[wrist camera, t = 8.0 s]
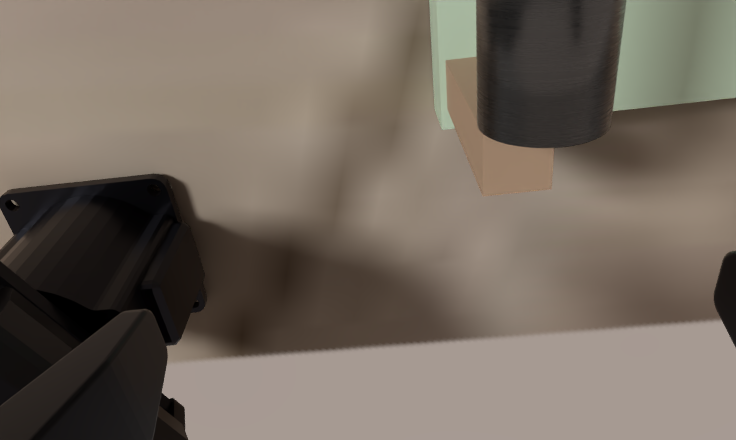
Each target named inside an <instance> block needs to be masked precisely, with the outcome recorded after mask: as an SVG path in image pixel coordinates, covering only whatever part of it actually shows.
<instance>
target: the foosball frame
mask: <svg viewBox="0 0 736 440" xmlns="http://www.w3.org/2000/svg"><path fill="white" fill-rule="evenodd" d="M429 6H430V26H431V47H432V67H433V87H434V108H435V112H436V114H437V117H438V120H439V123H440V126H441V129H442V130H446V129H456V132H457V134H458V137H459V139H460V142H461V144H462V146H463V149H464V151H465V154H466V156H467V159H468V161H469V164H470V166H471V168H472V171H473V173H474V176H475V178H476V181H477V183H478V186H479V188H480V191H481V193H482V195H483V196H491V195H501V194H510V193H520V192H530V191H539V190H549V189H551V188H552V173H553V159H554V148H528V147H519V146H513V145H508V144H504V143H501V142H498V141H495V140H493V139H490V138H488V137H487V136H485V135H484V134H482V133H481V132H480V130H479V129H478V127H477V59H476V0H429ZM729 98H736V0H626V9H625V17H624V25H623V33H622V41H621V49H620V57H619V65H618V73H617V81H616V89H615V97H614V106H613V111H619V110H628V109H638V108H647V107H656V106H665V105H674V104H683V103H692V102H701V101H710V100H720V99H729Z"/></svg>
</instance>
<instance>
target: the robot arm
mask: <svg viewBox="0 0 736 440" xmlns="http://www.w3.org/2000/svg"><path fill="white" fill-rule="evenodd" d="M151 184H153V185H157V186H158V187H159V188H160V190H161V191H155V190H153V189H152V188H151V186H150V185H151ZM11 200H14V201H16V202H17V203H18V204H19V206H16V205H14V204H13V203H12V202H11ZM0 209H1V211H2V213H3V215H4V216H5V218H6V220H7V222H8V224H9V226H10V228H11V230H12V232H13V234H14V236H13V237H12V238H11V239H10V240H9V241H8V242H7V243H6V244H5V245H4V246H3V247H2V249H1V250H0V440H188V438H187V435H186V432H185V412H184V411H185V409H184V407H183V406H182V405H181V404H180V403H178V402H177V401H176V400H175V399H173V398H171V399H168V398H167V397H166V396H165V395H164V394H162V388H163V382H164V376H165V371H166V365H167V358H168V354H167V347H166V346H170V345H176V344H177V343H178V341H179V340H180V339H181V337H182V334H183V332H184V329H185V326H186V324H187V321H188V318H189V316H190V313H193V312H199V311H201V310H203V309H204V307H205V304H206V301H207V295H206V292H205V289H204V286H203V283H202V282H203V279H204V276H205V273H204V270H203V267H202V264H201V261H200V258H199V254H198V251H197V248H196V245H195V242H194V239H193V236H192V233H191V230H190V227H189V226H188V225H187V224H186V223H185V222H182V219H181V216H180V213H179V210H178V207H177V204H176V201H175V198H174V195H173V192H172V189H171V186H170V183H169V182H168V180H167V179H166V178H165V177H164V176H161V175H159V174H147V175H138V176H129V177H119V178H110V179H101V180H92V181H83V182H74V183H64V184H55V185H46V186H37V187H28V188H18V189H11V190H8V191H7V192H6V193H4V194H3V195H2V196H1V197H0ZM195 300H198V302H195ZM714 303H715V307H716V309H717V312H718V314H719V316H720V318H721V320H722V322H723V323H724V325H725V327H726V329H727V331H728V333H729V335H730V337H731V339H732V341H733V343H734V345H735V347H736V251H731V252H729V253H727V254H726V256H725V257H724V259H723V262H722V265H721V269H720V273H719V276H718V280H717V284H716V287H715V291H714Z"/></svg>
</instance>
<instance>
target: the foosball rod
mask: <svg viewBox="0 0 736 440" xmlns="http://www.w3.org/2000/svg"><path fill="white" fill-rule="evenodd" d="M625 9H626V0H476V59H477V127H478V129H479V130H480V132H481V133H482V134H484V135H485V136H487V137H488V138H490V139H493V140H495V141H498V142H501V143H504V144H508V145H513V146H519V147H528V148H558V147H567V146H574V145H579V144H583V143H586V142H589V141H592V140H595V139H597V138H599V137H601V136H602V135H604V134H605V133H606V132H607V131H608V130H609V129H610V127H611V122H612V114H613V106H614V97H615V89H616V81H617V73H618V65H619V57H620V49H621V41H622V33H623V25H624V17H625Z"/></svg>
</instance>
